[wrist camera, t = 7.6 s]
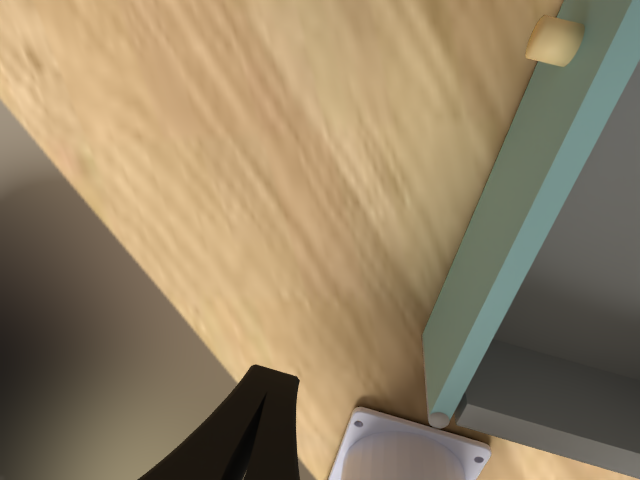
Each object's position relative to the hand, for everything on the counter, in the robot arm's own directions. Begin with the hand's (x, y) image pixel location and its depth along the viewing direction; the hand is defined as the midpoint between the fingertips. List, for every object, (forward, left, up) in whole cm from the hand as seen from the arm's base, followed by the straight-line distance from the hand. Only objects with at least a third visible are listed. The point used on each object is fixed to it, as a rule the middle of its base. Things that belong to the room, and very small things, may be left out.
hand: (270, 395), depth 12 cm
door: (+4, -6, -9) cm, 12 cm away
